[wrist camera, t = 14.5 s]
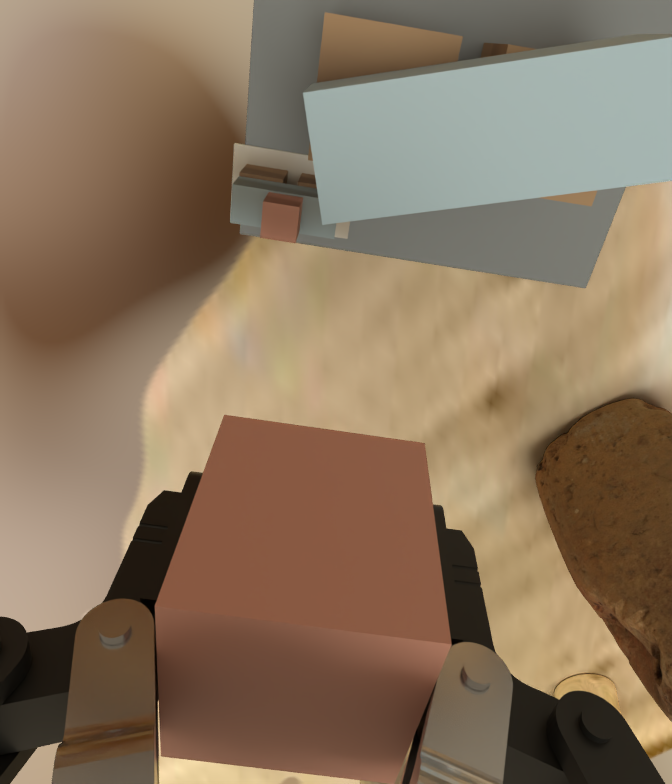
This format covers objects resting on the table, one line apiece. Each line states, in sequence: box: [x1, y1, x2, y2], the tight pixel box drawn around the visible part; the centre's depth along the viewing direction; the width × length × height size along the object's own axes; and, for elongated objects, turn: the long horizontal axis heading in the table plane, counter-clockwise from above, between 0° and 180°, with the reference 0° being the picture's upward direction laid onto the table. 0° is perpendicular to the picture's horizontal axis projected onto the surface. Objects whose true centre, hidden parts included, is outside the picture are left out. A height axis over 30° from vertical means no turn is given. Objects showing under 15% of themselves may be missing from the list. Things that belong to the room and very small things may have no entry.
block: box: [535, 398, 672, 721], centre depth 35 cm, size 11×8×20 cm
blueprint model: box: [230, 143, 350, 243], centre depth 32 cm, size 4×7×7 cm, turn 82°
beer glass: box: [554, 674, 622, 715], centre depth 54 cm, size 7×7×15 cm
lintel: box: [303, 34, 672, 225], centre depth 25 cm, size 5×14×5 cm, turn 98°
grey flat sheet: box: [240, 0, 672, 288], centre depth 33 cm, size 16×22×1 cm
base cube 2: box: [308, 12, 463, 161], centre depth 29 cm, size 6×6×6 cm
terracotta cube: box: [155, 415, 452, 784], centre depth 12 cm, size 4×4×5 cm
